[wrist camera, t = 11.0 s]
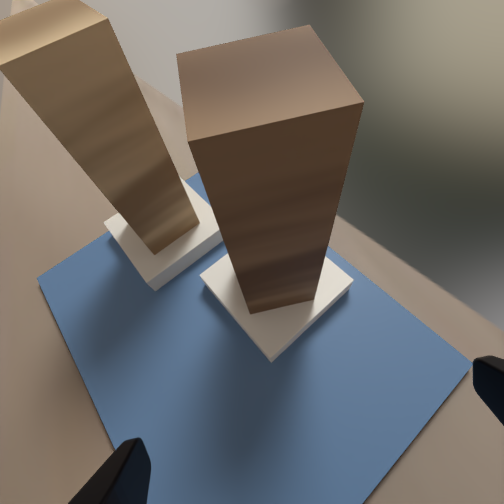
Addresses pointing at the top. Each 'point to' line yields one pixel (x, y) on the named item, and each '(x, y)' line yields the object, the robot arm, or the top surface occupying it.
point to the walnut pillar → (271, 155)
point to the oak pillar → (97, 113)
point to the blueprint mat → (245, 369)
